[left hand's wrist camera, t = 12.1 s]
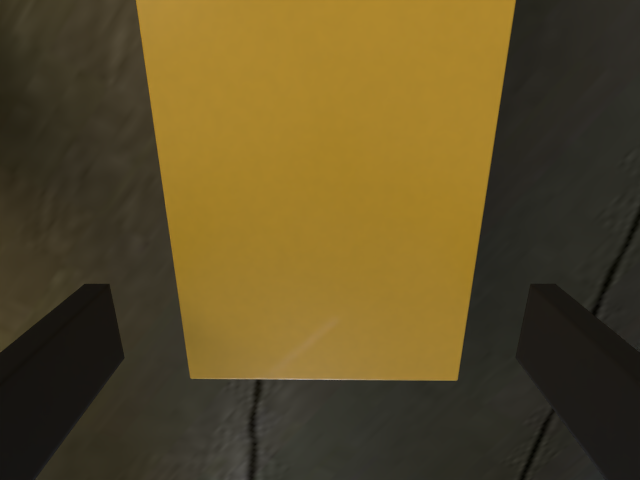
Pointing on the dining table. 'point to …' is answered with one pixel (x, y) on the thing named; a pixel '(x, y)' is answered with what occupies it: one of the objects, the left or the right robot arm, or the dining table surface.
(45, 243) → the dining table surface
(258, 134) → the cabinet
